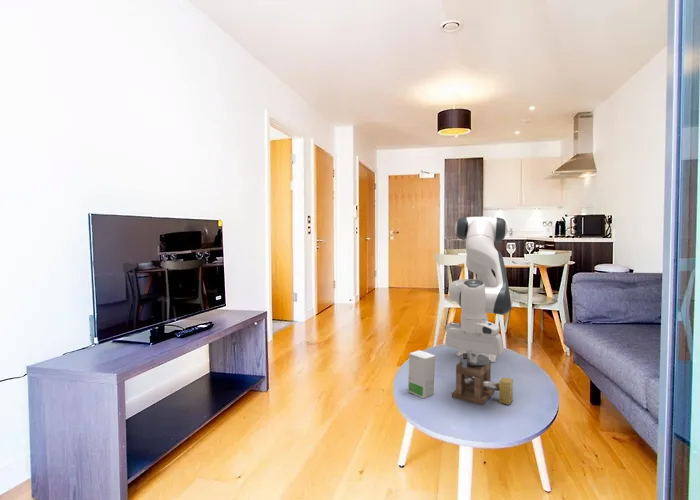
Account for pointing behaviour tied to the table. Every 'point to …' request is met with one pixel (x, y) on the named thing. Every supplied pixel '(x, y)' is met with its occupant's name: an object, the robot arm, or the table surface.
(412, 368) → the skincare box
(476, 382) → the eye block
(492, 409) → the table surface
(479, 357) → the handwheel
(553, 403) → the table surface
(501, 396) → the gold cube on rod
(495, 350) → the robot arm
